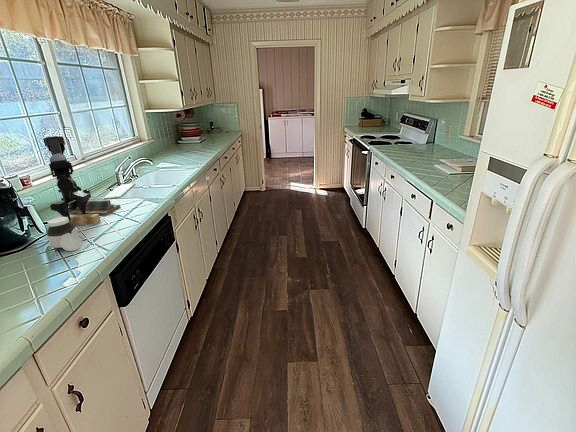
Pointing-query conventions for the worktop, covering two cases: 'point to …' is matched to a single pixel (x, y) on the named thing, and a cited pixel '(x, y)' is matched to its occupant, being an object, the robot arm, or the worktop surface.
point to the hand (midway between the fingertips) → (77, 217)
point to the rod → (84, 219)
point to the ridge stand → (97, 207)
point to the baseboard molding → (119, 191)
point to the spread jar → (63, 234)
